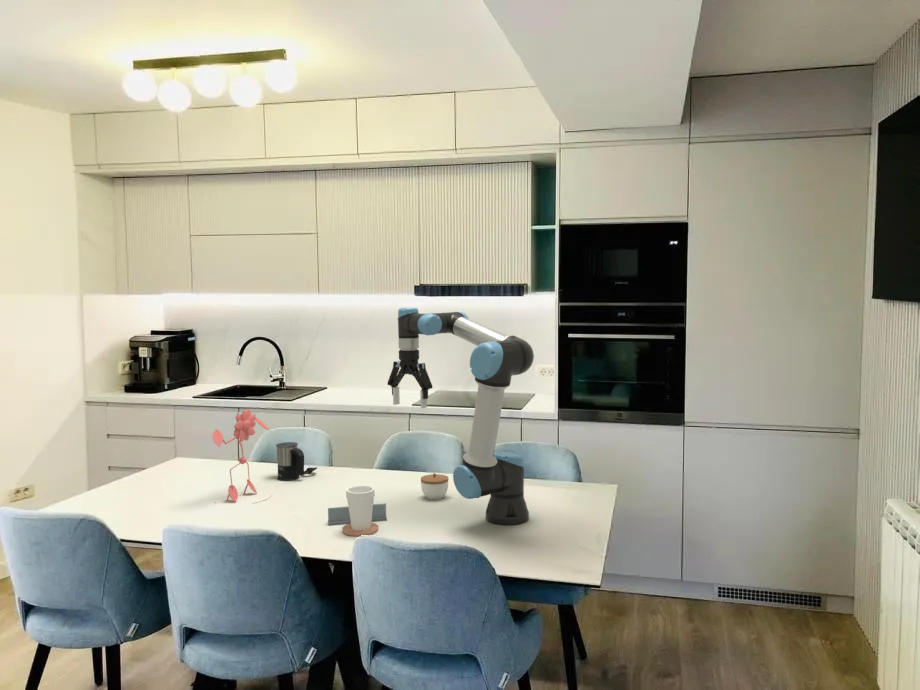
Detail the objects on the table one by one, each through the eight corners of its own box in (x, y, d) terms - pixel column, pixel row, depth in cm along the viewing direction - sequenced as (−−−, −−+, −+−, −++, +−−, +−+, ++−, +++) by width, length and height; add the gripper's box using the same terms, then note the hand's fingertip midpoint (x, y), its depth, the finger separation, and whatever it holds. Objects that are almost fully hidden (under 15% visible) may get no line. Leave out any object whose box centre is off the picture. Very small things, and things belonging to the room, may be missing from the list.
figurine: (208, 505, 284) (206, 413, 280) (256, 488, 307) (255, 403, 303) (239, 511, 277) (237, 417, 273) (286, 493, 300) (284, 406, 296)
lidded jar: (415, 499, 288) (415, 475, 287) (429, 492, 297) (429, 468, 297) (440, 502, 283) (439, 478, 282) (453, 495, 292) (453, 471, 292)
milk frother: (272, 480, 319) (271, 445, 317) (292, 471, 334) (291, 438, 332) (302, 482, 314) (301, 447, 313) (321, 473, 329) (320, 439, 328)
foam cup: (361, 521, 260) (360, 484, 259) (381, 526, 254) (380, 488, 253) (341, 528, 252) (340, 490, 251) (360, 533, 247) (359, 495, 245)
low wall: (385, 516, 267) (384, 502, 267) (386, 520, 263) (386, 505, 263) (328, 521, 262) (327, 506, 262) (328, 525, 259) (328, 510, 258)
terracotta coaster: (385, 529, 254) (385, 526, 254) (360, 538, 245) (360, 535, 245) (360, 522, 261) (360, 519, 261) (334, 531, 252) (334, 528, 252)
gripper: (441, 350, 274) (442, 407, 276) (391, 346, 290) (392, 401, 291) (428, 351, 268) (429, 410, 270) (377, 348, 284) (378, 404, 286)
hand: (409, 406), depth 281 cm, fingers open, 13 cm apart
